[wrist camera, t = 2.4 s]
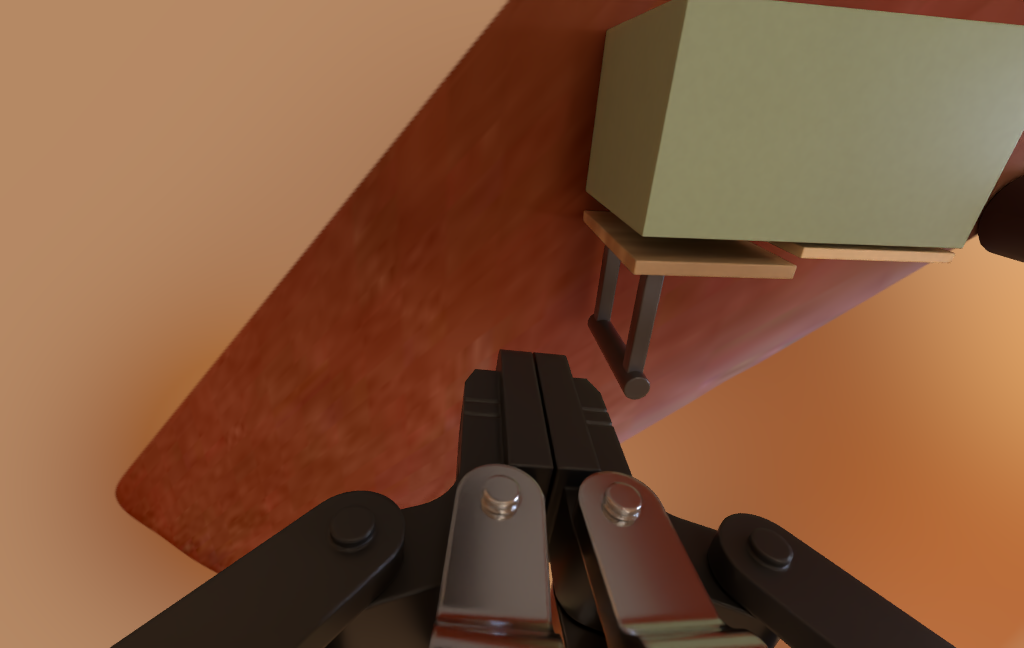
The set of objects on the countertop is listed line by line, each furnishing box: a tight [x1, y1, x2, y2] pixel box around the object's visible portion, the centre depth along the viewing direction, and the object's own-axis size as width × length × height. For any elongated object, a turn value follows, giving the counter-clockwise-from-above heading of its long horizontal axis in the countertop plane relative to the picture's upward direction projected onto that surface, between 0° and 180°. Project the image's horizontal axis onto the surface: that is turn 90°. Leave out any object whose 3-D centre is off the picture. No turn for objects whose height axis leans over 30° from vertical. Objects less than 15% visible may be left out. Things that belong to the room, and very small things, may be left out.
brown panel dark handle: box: [583, 210, 796, 399], centre depth 31 cm, size 9×9×12 cm
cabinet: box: [586, 0, 1024, 263], centre depth 27 cm, size 11×18×12 cm, turn 86°
